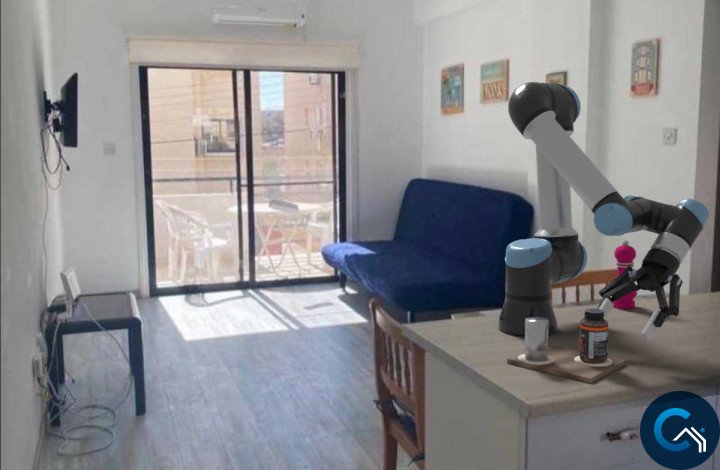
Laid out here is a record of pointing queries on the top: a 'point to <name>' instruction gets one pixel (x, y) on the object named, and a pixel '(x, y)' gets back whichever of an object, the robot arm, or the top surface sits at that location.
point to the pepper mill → (624, 260)
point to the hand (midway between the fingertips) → (619, 330)
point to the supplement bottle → (593, 337)
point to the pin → (536, 339)
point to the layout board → (568, 364)
